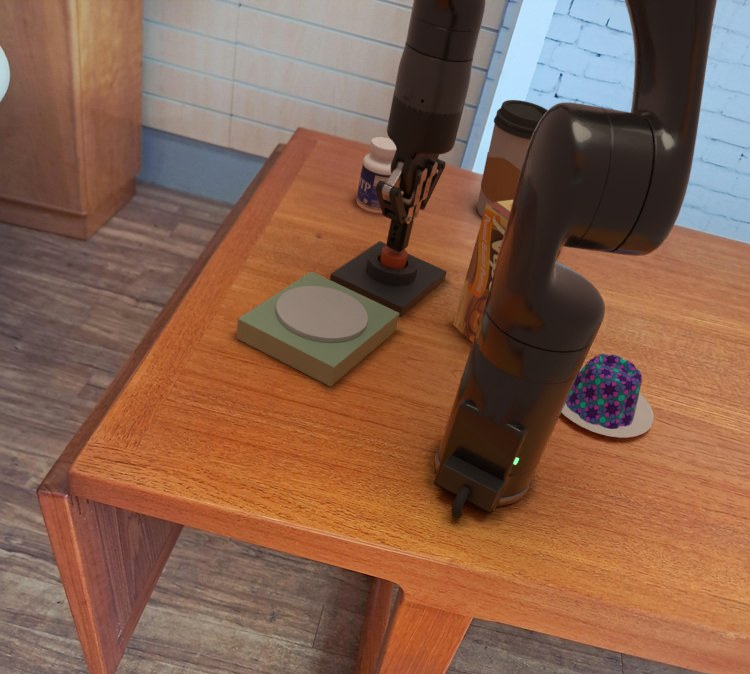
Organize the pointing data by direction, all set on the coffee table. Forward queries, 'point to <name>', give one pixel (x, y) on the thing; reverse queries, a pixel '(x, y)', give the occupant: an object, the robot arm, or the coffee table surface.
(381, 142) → the pill bottle
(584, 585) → the coffee table surface
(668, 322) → the coffee table surface
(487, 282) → the candy box
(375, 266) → the block
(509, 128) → the coffee cup
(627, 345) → the coffee table surface
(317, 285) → the scale
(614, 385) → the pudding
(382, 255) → the button
